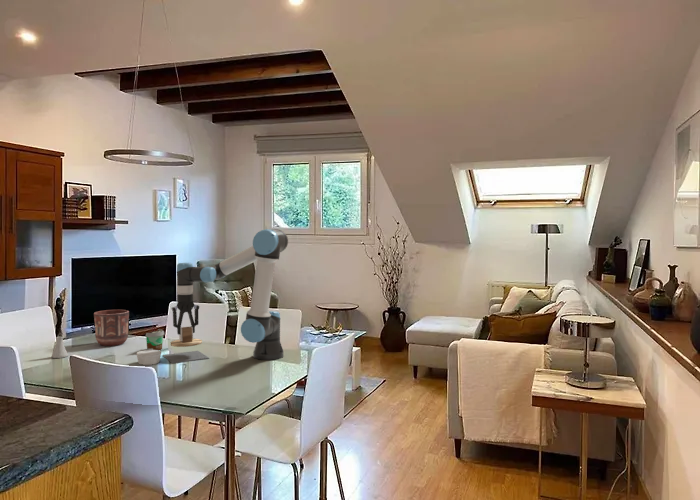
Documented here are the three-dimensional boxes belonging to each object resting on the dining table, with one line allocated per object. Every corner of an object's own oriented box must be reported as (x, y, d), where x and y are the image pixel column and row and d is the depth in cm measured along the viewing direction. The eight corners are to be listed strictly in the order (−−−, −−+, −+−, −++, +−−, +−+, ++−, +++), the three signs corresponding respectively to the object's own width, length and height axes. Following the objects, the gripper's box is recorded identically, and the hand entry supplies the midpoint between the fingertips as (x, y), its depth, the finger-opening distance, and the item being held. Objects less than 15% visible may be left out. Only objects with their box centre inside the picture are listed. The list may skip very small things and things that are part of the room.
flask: (71, 356, 272) (71, 336, 271) (58, 359, 265) (58, 339, 265) (61, 354, 275) (61, 335, 274) (48, 357, 268) (48, 337, 268)
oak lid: (205, 344, 268) (205, 328, 268) (175, 348, 260) (174, 331, 260) (196, 339, 281) (196, 324, 280) (167, 342, 273) (166, 327, 272)
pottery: (118, 339, 313) (117, 308, 312) (135, 343, 303) (135, 311, 302) (88, 344, 298) (87, 312, 298) (105, 349, 288) (104, 315, 287)
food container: (156, 352, 280) (156, 333, 280) (145, 352, 281) (145, 333, 281) (168, 347, 292) (168, 329, 292) (158, 347, 293) (158, 328, 293)
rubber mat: (209, 358, 268) (209, 357, 268) (172, 363, 258) (172, 362, 258) (197, 351, 283) (197, 350, 283) (162, 355, 273) (162, 354, 273)
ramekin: (153, 359, 267) (153, 348, 267) (166, 362, 260) (165, 351, 260) (132, 363, 259) (131, 352, 258) (144, 367, 251) (144, 355, 251)
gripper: (200, 291, 277) (201, 337, 278) (165, 294, 268) (166, 341, 269) (205, 293, 271) (206, 339, 272) (169, 295, 262) (170, 343, 262)
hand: (186, 340), depth 270 cm, fingers closed on oak lid, 4 cm apart
